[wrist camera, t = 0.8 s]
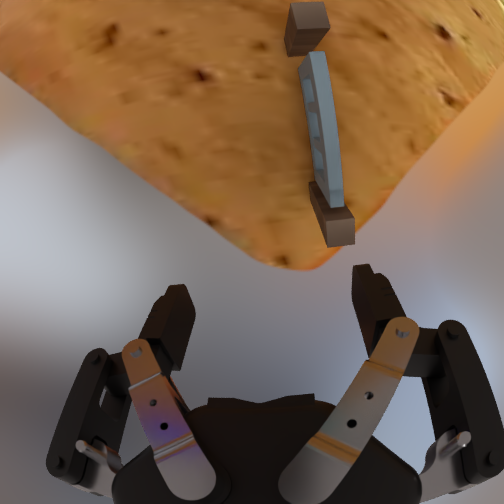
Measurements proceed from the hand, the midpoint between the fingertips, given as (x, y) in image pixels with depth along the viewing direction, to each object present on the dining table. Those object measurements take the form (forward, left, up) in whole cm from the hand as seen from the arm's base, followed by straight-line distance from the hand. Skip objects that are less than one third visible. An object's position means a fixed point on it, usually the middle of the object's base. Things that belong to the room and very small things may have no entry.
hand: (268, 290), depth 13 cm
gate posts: (-6, +6, -23) cm, 24 cm away
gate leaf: (-6, +6, -21) cm, 22 cm away
